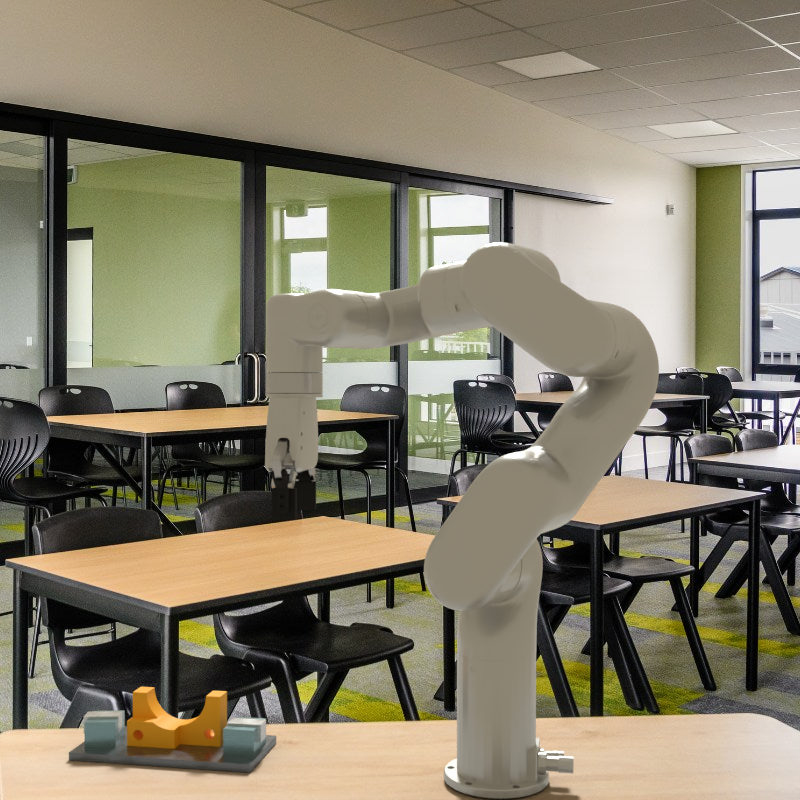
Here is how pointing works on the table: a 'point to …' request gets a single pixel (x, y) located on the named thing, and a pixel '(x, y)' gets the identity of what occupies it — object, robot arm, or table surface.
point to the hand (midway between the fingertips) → (294, 514)
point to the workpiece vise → (236, 754)
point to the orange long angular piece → (175, 722)
